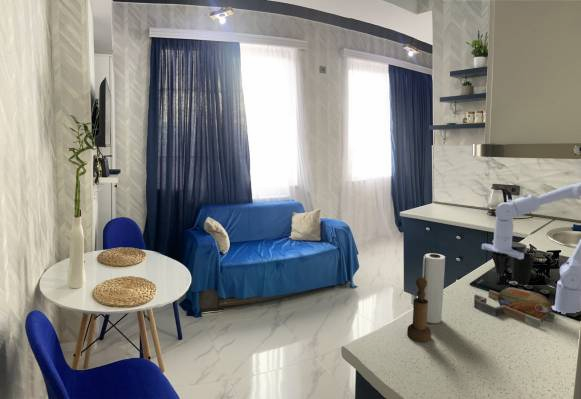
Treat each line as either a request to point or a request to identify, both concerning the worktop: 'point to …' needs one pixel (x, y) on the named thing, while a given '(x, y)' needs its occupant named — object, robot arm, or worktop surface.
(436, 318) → the paper towel roll
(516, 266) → the cup
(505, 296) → the tin
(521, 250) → the supplement container
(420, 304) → the mortar and pestle
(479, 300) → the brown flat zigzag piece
